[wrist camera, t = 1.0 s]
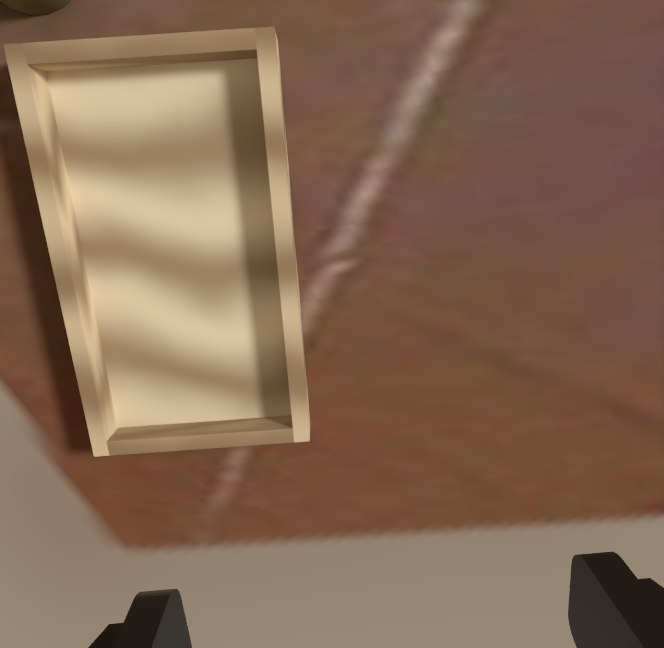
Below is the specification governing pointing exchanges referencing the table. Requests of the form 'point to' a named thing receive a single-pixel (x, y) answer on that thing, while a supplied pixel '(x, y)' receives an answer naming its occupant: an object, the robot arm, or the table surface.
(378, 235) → the table surface
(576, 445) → the table surface
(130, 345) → the birch tray
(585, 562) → the robot arm
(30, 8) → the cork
